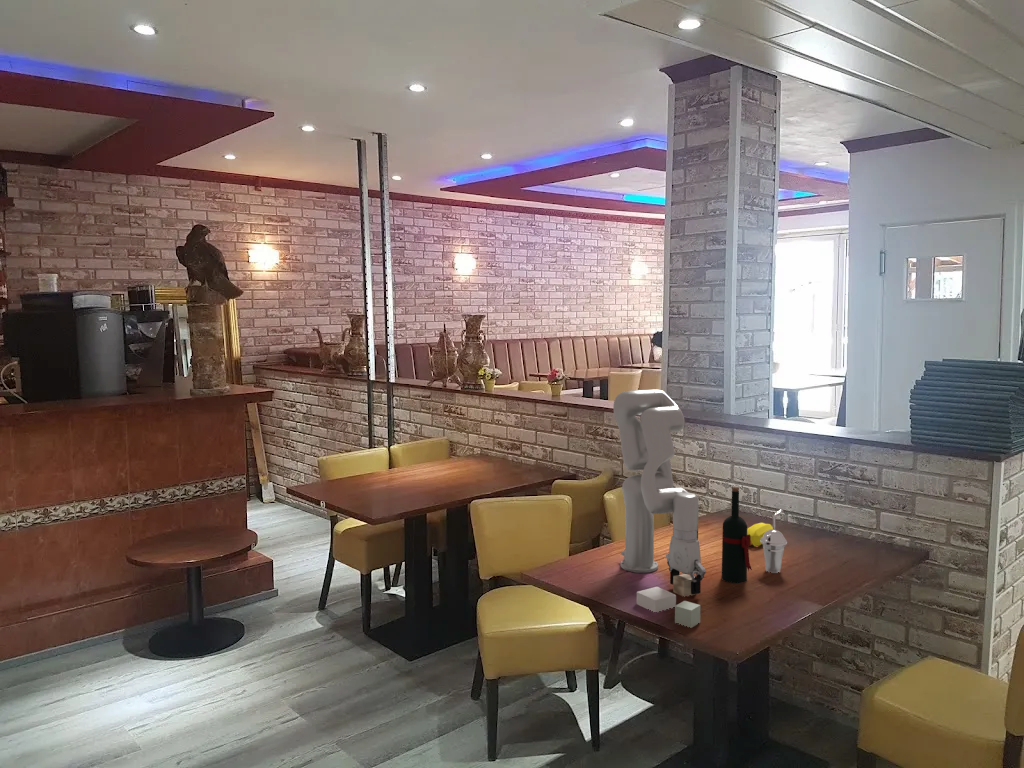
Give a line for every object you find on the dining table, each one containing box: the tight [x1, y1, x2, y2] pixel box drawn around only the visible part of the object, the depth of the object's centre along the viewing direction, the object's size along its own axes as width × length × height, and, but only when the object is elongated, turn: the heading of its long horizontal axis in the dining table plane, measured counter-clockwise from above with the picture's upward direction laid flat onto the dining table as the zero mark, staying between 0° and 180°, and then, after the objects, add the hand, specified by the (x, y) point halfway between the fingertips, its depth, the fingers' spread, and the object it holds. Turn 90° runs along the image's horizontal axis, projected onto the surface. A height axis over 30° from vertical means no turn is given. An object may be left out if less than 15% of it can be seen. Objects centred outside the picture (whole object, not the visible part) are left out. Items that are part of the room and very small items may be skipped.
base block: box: [636, 586, 677, 613], centre depth 218 cm, size 8×8×4 cm
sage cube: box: [674, 600, 701, 629], centre depth 205 cm, size 5×5×5 cm
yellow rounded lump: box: [747, 522, 773, 548], centre depth 278 cm, size 18×7×8 cm
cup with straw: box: [760, 508, 788, 574], centre depth 246 cm, size 8×9×20 cm
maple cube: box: [672, 573, 695, 598], centre depth 227 cm, size 5×5×5 cm
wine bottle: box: [721, 486, 753, 584], centre depth 237 cm, size 8×10×30 cm
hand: (685, 588), depth 227 cm, fingers open, 9 cm apart
